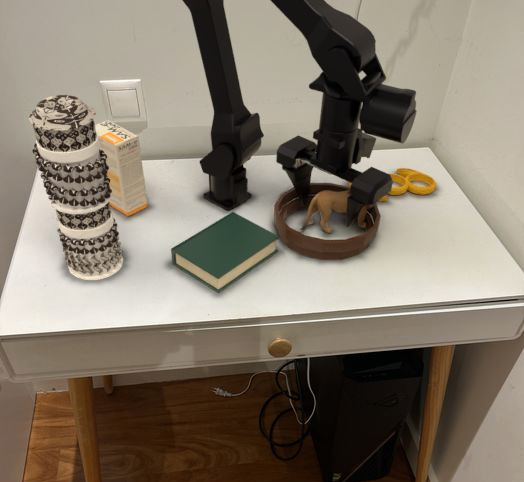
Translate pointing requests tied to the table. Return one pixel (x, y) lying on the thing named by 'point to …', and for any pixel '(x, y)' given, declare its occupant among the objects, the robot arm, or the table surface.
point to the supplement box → (123, 167)
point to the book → (224, 251)
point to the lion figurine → (328, 202)
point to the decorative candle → (77, 185)
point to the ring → (316, 245)
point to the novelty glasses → (406, 178)
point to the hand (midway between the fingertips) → (326, 215)
